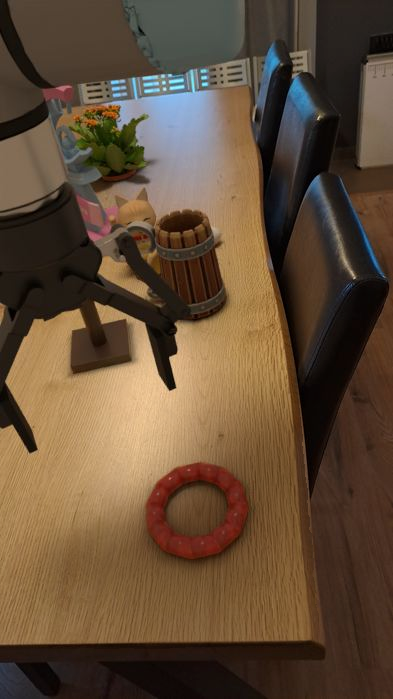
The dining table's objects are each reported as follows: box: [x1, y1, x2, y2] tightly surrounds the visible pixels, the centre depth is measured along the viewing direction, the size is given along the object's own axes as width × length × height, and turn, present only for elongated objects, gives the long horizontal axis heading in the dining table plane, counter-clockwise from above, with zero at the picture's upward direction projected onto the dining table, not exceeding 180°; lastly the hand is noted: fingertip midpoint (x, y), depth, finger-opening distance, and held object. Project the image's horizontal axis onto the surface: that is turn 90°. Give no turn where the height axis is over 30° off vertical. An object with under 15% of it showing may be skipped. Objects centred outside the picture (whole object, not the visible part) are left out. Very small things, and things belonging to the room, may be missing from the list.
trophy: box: [43, 85, 118, 241], centre depth 101 cm, size 20×17×30 cm
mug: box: [126, 208, 226, 320], centre depth 80 cm, size 16×11×15 cm
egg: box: [210, 225, 223, 246], centre depth 97 cm, size 4×6×4 cm, turn 98°
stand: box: [69, 299, 132, 374], centre depth 74 cm, size 9×9×14 cm
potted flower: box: [66, 103, 150, 182], centre depth 128 cm, size 25×24×18 cm
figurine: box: [109, 187, 161, 278], centre depth 90 cm, size 9×10×15 cm
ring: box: [144, 461, 249, 560], centre depth 54 cm, size 11×11×2 cm
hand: (101, 410), depth 46 cm, fingers open, 13 cm apart
